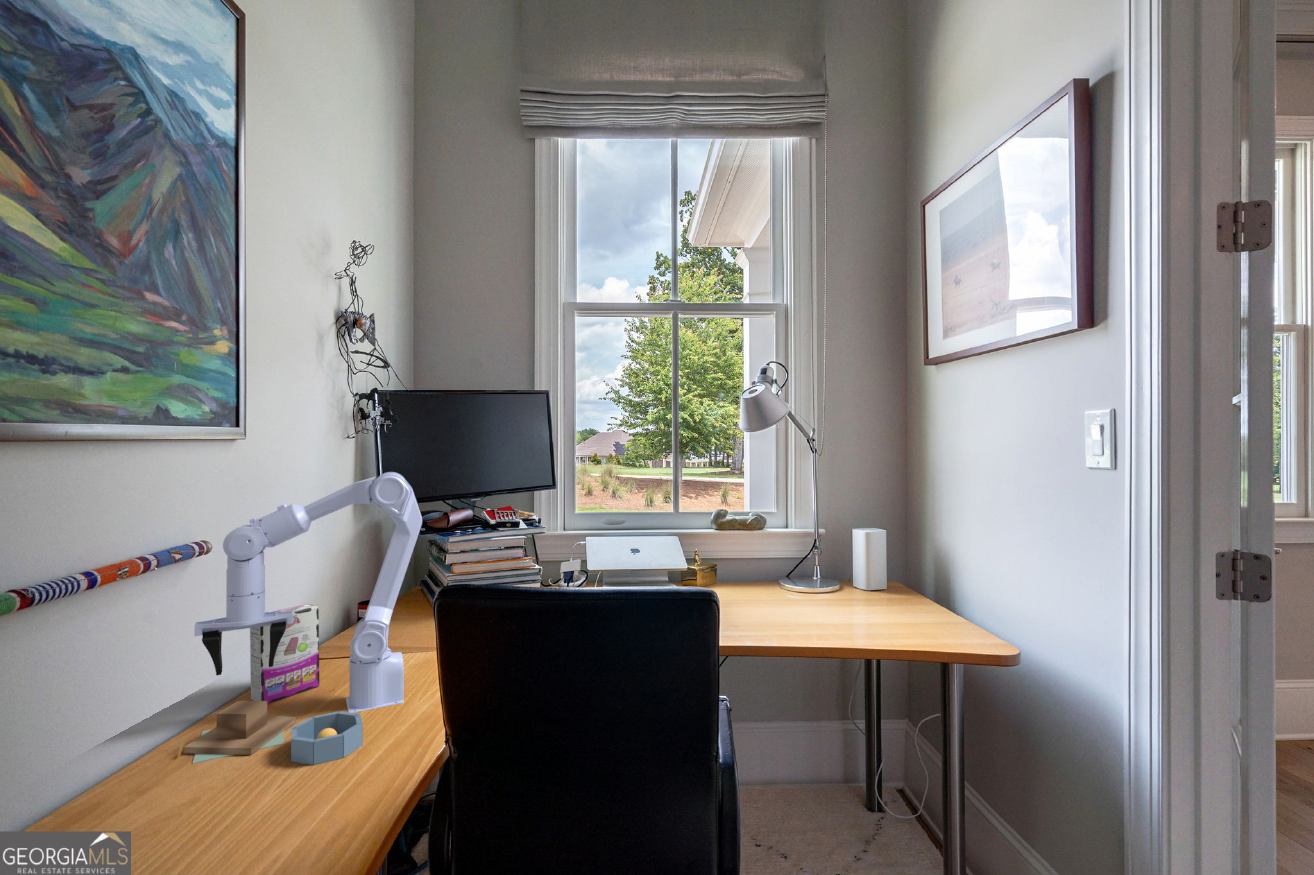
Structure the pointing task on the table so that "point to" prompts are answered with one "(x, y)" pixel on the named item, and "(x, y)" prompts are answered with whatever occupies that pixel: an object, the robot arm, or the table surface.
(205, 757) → the mat
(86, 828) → the table surface
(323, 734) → the orange ball
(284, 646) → the candy bar box
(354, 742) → the bowl
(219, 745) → the lid
